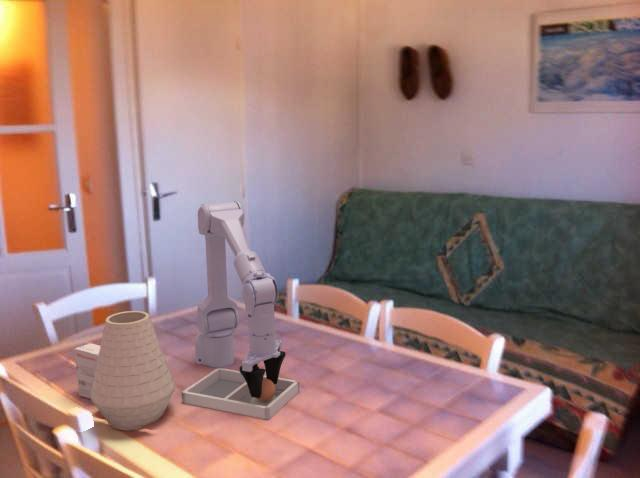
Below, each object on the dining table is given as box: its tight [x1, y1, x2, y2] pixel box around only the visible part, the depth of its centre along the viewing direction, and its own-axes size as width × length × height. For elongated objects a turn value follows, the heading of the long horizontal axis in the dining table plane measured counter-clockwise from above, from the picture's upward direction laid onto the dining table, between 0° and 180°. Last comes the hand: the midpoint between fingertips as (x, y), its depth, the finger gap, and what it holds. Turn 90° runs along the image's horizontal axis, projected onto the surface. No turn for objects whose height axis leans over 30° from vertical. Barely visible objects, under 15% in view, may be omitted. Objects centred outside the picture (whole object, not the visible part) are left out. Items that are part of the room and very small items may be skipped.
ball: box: [256, 379, 275, 402], centre depth 145 cm, size 5×5×5 cm
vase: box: [90, 310, 176, 432], centre depth 139 cm, size 17×17×23 cm
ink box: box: [73, 342, 100, 400], centre depth 152 cm, size 9×5×12 cm, turn 58°
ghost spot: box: [250, 395, 277, 406], centre depth 146 cm, size 6×6×1 cm
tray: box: [181, 367, 300, 421], centre depth 148 cm, size 22×15×4 cm
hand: (264, 389), depth 145 cm, fingers open, 7 cm apart
